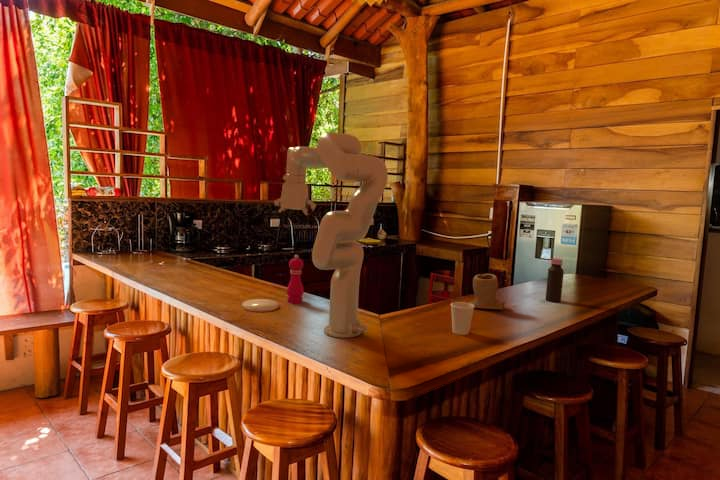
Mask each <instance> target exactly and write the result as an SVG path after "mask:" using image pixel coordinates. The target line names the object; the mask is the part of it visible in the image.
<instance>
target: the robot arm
mask: <svg viewBox="0 0 720 480" xmlns="http://www.w3.org/2000/svg"><path fill="white" fill-rule="evenodd" d="M361 152H362V144H361V141H360V140H359V138H357V136H354V135H351V134H349V133H342V132H335V131H327V132H323V133H322V134H321V135H320V137H319V138H318V140H317V144H316V147H313V146H305V145H304V146H302V145H301V146H291V147H288V149H287V152H286V154H287V157H286V173H285V175H283V176H282V179H283V180H285V182H283V185H282V189H281V195H280V197H279V198H277V199H275V200H274V201H273V204H274V206H275V209H276V210H277V211H278V213H279V214H278V215H279V216H278V217H279V218H278V220H279V223H280V224H282V223H283V224H285V222H286V212H285V211H286V210H298V211H302V212H303V218H302V225H303V226H308V224H309V222H310V220H309V219H310V215H311V214H312V213H313V212H314V210H315V208H316V207H317V204H316V203H315V202H313V201H311V200H310V199H309V189H308V184H307V183H306V180H307V168H311V169H327V170H328V171H329V172H330V174H331V175H332V177H334V178H335V179H336V180H338V181H340V182H348V183H349V182H352V183H355V182H356V183H362V184H361V185H360V186H359V187H358V188H357V189H356V190H355V191H354V192H353V194H352V195H351V197H350V199H349V203H348V206H347V207H346V209H345V210H332V211H328V212H326V214H325V215H324V216H323V217H322V219H321V221H320V224H319V227H318V230H317V234H316V237H315V241H314V243H313V247H312V253H311V258H312V259H311V260H312V263H313V265H314V266H315V268H317V269H319V270H323V271H324V270H325V271H328V270H334V272H333V274H332V276H331V280H330V293H329V296H330V297H329V312H328V313H329V314H328V315H329V317H328V319H329V320H328V325H326V326H325V327H324V328H323V332H324V334H325V335H327V336H330V337H333V338H341V339H342V338H343V339H344V338H347V339H348V338H356V337H358V336H360V335H361V334H365V333H366V332H367V327H368V326H367V325H364V324H361V319H358V313H359V312H358V311H359V310H358V308H359V292H360V290H359V289H360V288H359V287H360V278H361V269H362V264H363V261H364V257H365V256H364V248H363V246H362V244H361V243H360V242H359V241H360V240H363V239H364V238H365V237H366V235H367V234H368V232H369V229H370V226H371V224H372V219H373V218H374V215H375V211H376V208H377V206H378V203H379V201H380V200H381V197H382V196H383V194H384V191H385V190H386V187H387V184H388V168H387V165H386V163H385V162H384V161H383V160H382V159H381V158H379V157H377V156H374V155H370V154H368V155H367V154H361ZM309 206H310V208H309V209H308V207H309Z"/></svg>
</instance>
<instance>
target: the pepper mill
mask: <svg viewBox="0 0 720 480" xmlns="http://www.w3.org/2000/svg"><path fill="white" fill-rule="evenodd" d="M299 256H300V255H298V254H294V258H291V259H290V260H289V261H288V266H289V268H290V270H289V273H290V281H289V284H288V285H287V287H286V294H287V295H288V297H287V298H286V299H287V302H288V303H290V304H301V303H303V295H304V294H305V290H304V286H303V282H302V279H301V278H302V277H301V276H302V273H303V272H302V271H303V270H302V269H303V267H304V261H303V260H302V259H301V258H300V257H299Z"/></svg>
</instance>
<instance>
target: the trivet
mask: <svg viewBox="0 0 720 480" xmlns="http://www.w3.org/2000/svg"><path fill="white" fill-rule="evenodd" d="M241 304H242V305H241V308H242V309H243V310H245V311H249V312H257V313H258V312H259V313H262V312H272V311H275V310H278V308H279V302H278V301H276V300H273V299H265V298H259V299H258V298H255V299H254V298H253V299H248V300H244V301H243V302H242V303H241Z"/></svg>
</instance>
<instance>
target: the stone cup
mask: <svg viewBox="0 0 720 480" xmlns="http://www.w3.org/2000/svg"><path fill="white" fill-rule="evenodd" d="M498 288H499V279H498V277H497V275H495V274H494V273H483V274H481V273H479V274H476V275H474V277H473V279H472V289H473V293H474V299H473V300H472V299H471V301H469V302H468V303H470V304H473V305H474V306H475V307H474V309H484V310H497V311H499V310H500V311H502V310H503V309H504V308H505V304H506V301H504V300H497V299H496V296H497V291H498Z"/></svg>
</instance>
